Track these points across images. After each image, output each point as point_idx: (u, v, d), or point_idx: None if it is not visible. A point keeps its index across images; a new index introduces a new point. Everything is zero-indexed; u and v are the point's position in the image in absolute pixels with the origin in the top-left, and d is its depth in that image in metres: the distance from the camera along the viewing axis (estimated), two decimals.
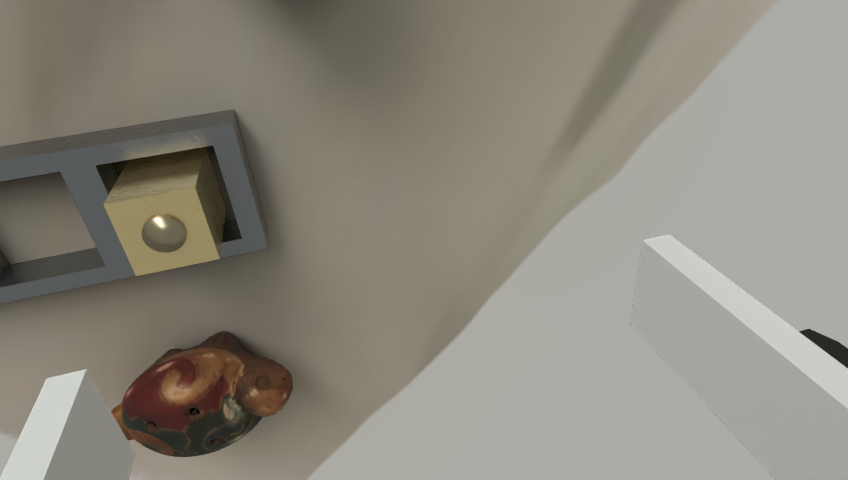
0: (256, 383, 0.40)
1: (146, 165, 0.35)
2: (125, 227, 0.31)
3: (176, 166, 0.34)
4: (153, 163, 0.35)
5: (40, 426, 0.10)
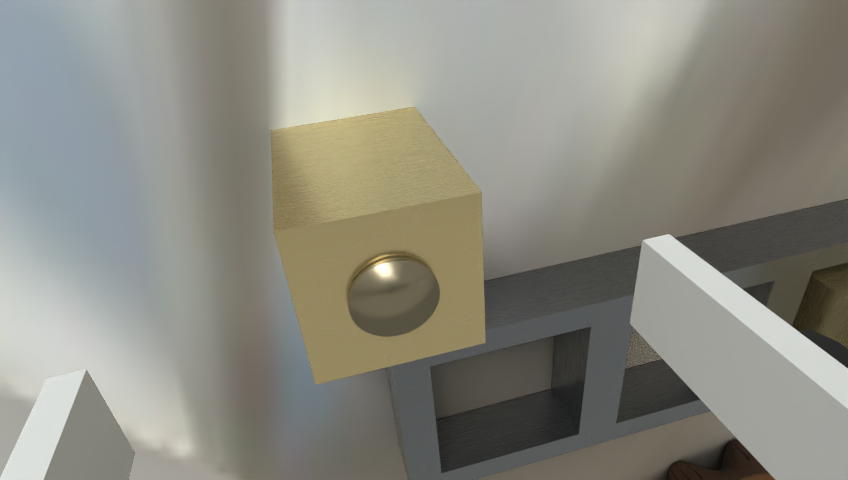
0: None
1: None
2: None
3: None
4: None
5: (41, 426, 0.10)
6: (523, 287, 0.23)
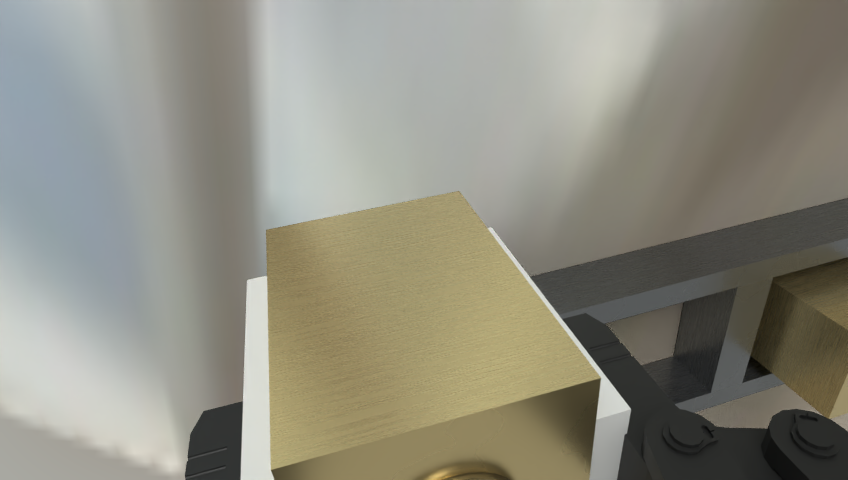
0: None
1: None
2: None
3: (840, 272, 0.27)
4: None
5: (260, 310, 0.12)
6: None
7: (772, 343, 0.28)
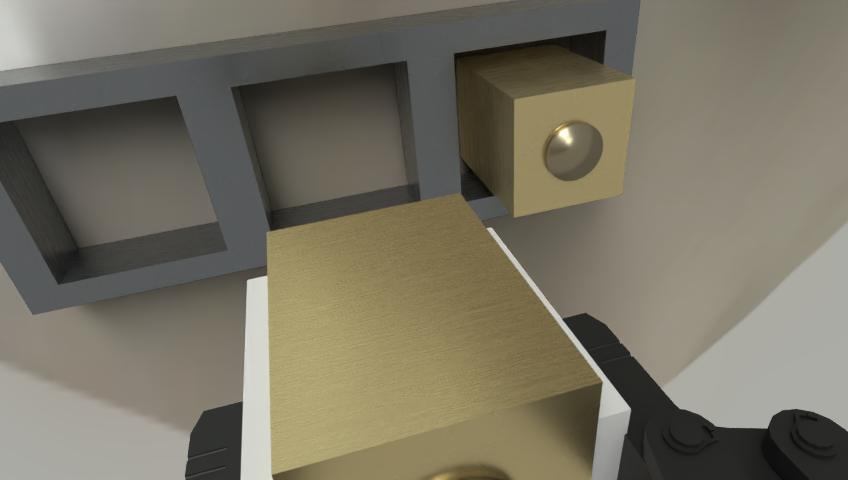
0: None
1: (498, 62, 0.24)
2: (528, 139, 0.20)
3: (551, 61, 0.23)
4: (503, 60, 0.24)
5: (260, 310, 0.12)
6: (113, 60, 0.21)
7: (481, 148, 0.24)
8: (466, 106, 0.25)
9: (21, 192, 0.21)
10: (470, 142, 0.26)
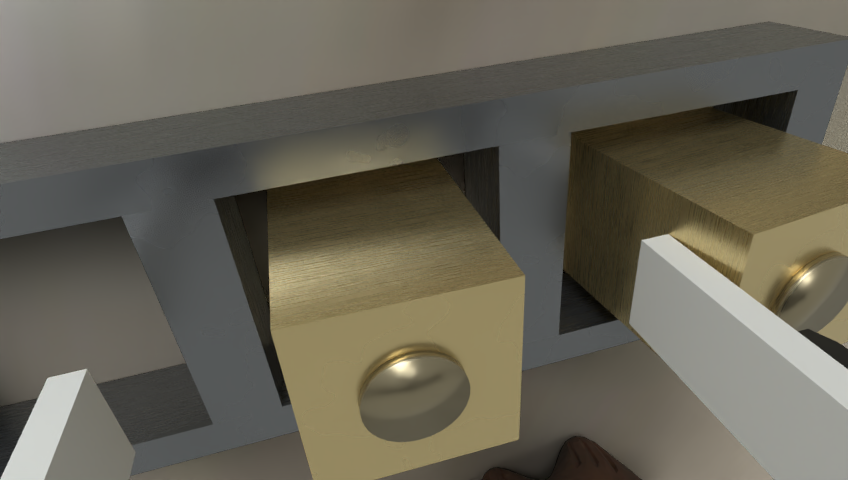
0: None
1: (639, 140, 0.16)
2: (756, 290, 0.12)
3: (726, 138, 0.15)
4: (645, 135, 0.16)
5: (41, 426, 0.10)
6: (20, 152, 0.13)
7: (619, 272, 0.16)
8: (585, 203, 0.17)
9: None
10: (589, 254, 0.17)
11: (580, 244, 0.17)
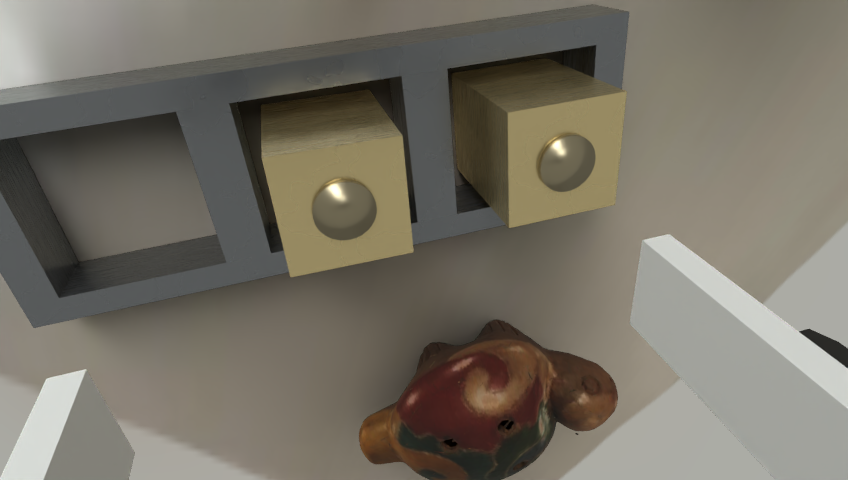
0: (581, 385, 0.30)
1: (492, 76, 0.25)
2: (522, 151, 0.21)
3: (543, 75, 0.24)
4: (498, 74, 0.25)
5: (41, 427, 0.10)
6: (114, 77, 0.21)
7: (477, 160, 0.25)
8: (462, 119, 0.26)
9: (23, 207, 0.22)
10: (466, 154, 0.26)
11: (463, 149, 0.27)
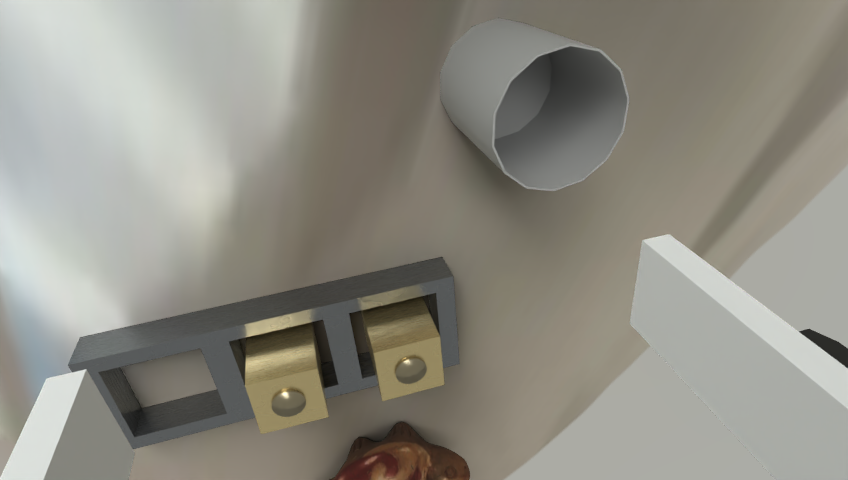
0: (444, 472, 0.48)
1: (379, 306, 0.43)
2: (384, 367, 0.39)
3: (406, 309, 0.42)
4: None
5: (41, 426, 0.10)
6: (167, 325, 0.40)
7: None
8: (364, 325, 0.44)
9: (117, 392, 0.40)
10: (368, 343, 0.45)
11: (367, 339, 0.45)
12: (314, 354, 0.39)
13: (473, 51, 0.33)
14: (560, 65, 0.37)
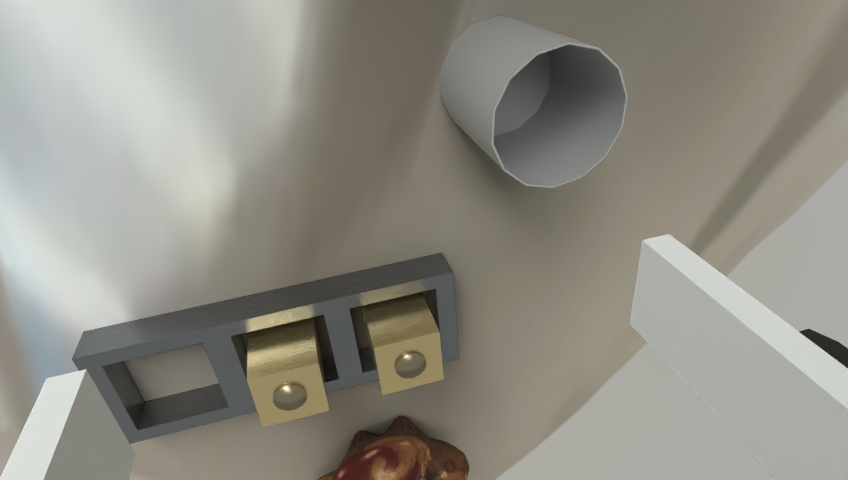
0: (444, 466, 0.49)
1: None
2: (384, 362, 0.40)
3: (406, 304, 0.43)
4: None
5: (41, 426, 0.10)
6: (169, 320, 0.40)
7: (371, 348, 0.44)
8: (364, 320, 0.45)
9: (120, 386, 0.41)
10: (368, 338, 0.45)
11: (367, 334, 0.45)
12: (315, 349, 0.40)
13: (473, 49, 0.33)
14: (559, 62, 0.37)
